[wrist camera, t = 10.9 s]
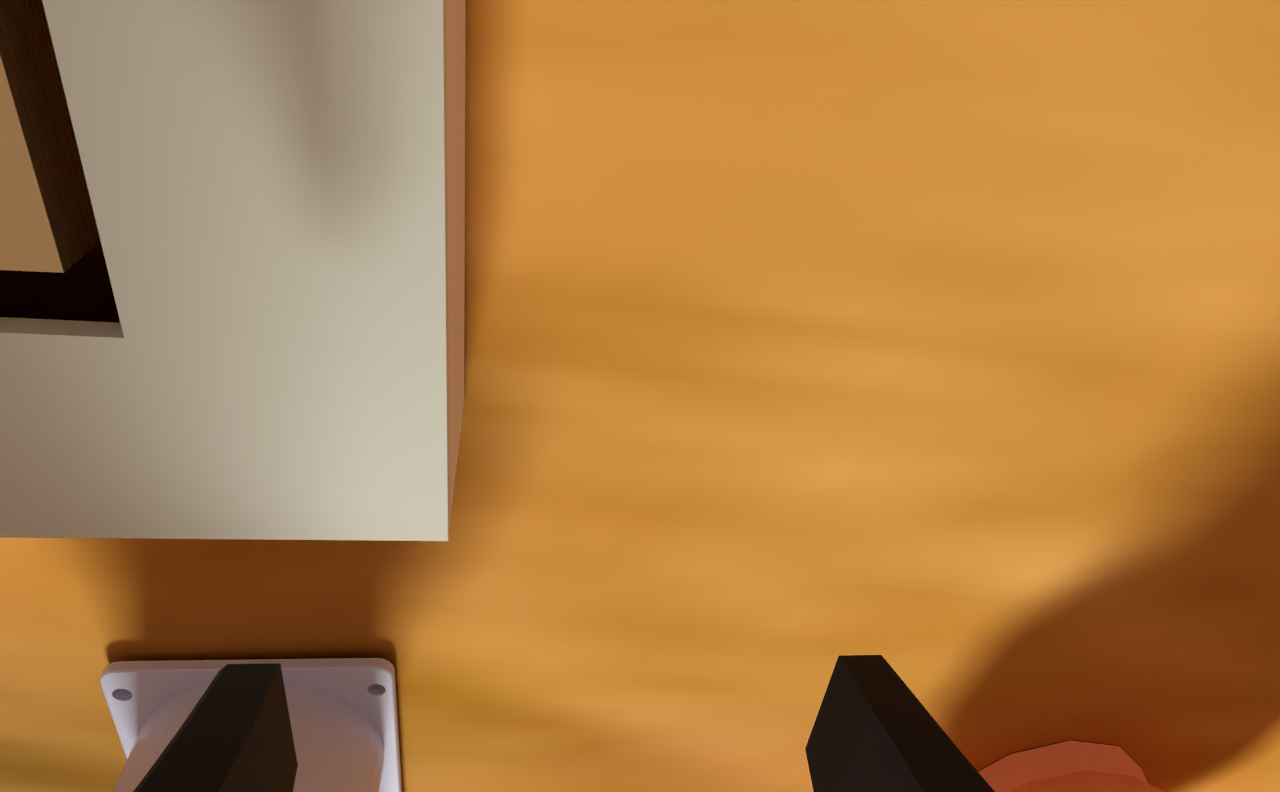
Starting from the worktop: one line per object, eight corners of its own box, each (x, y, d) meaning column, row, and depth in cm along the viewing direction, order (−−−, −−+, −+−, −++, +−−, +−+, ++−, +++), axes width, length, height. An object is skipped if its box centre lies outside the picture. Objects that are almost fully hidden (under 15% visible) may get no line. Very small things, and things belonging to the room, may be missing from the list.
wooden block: (179, 170, 17) (64, 272, 13) (43, 162, 16) (-122, 265, 12) (122, -120, 14) (-49, -112, 10) (-42, -137, 14) (-290, -137, 10)
